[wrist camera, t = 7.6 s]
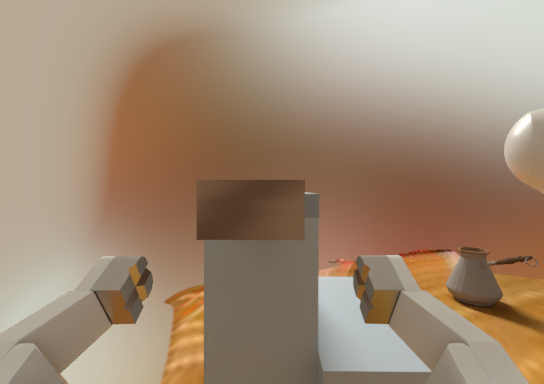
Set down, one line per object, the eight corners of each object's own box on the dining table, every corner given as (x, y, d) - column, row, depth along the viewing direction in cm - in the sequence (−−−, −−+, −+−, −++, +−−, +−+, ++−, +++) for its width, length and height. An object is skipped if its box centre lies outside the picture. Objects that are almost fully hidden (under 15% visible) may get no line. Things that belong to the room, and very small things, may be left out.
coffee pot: (436, 291, 73) (436, 237, 73) (477, 291, 73) (478, 237, 73) (503, 333, 51) (504, 256, 51) (562, 333, 51) (563, 257, 51)
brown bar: (284, 206, 33) (284, 186, 33) (304, 240, 11) (304, 180, 11) (248, 206, 33) (248, 186, 33) (196, 239, 11) (196, 180, 11)
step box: (358, 391, 37) (359, 191, 36) (450, 610, 18) (452, 194, 17) (236, 390, 37) (236, 191, 36) (196, 605, 18) (195, 194, 17)
